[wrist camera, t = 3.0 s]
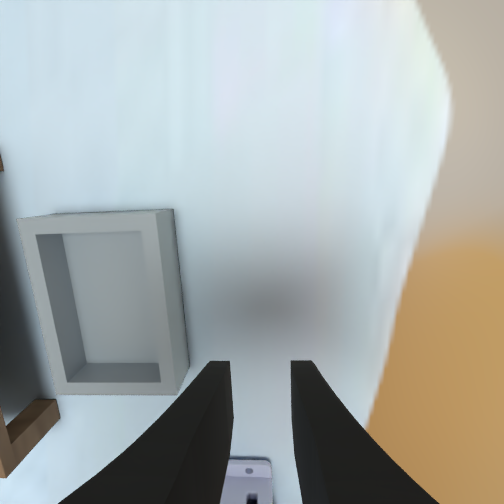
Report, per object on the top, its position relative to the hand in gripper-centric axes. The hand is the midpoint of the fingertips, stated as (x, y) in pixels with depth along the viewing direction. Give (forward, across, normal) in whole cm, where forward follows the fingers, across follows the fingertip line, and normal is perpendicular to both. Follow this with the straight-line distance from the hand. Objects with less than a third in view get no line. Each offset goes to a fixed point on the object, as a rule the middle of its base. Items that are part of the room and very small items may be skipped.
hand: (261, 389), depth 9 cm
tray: (+8, +8, 0) cm, 12 cm away
